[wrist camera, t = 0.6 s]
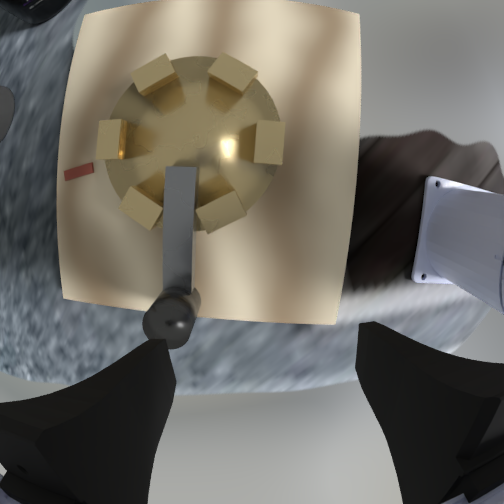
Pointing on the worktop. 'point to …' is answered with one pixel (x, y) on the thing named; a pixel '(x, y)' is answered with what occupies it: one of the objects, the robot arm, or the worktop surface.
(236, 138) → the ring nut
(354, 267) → the worktop surface
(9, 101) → the bottle
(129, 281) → the base board
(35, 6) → the supplement bottle
